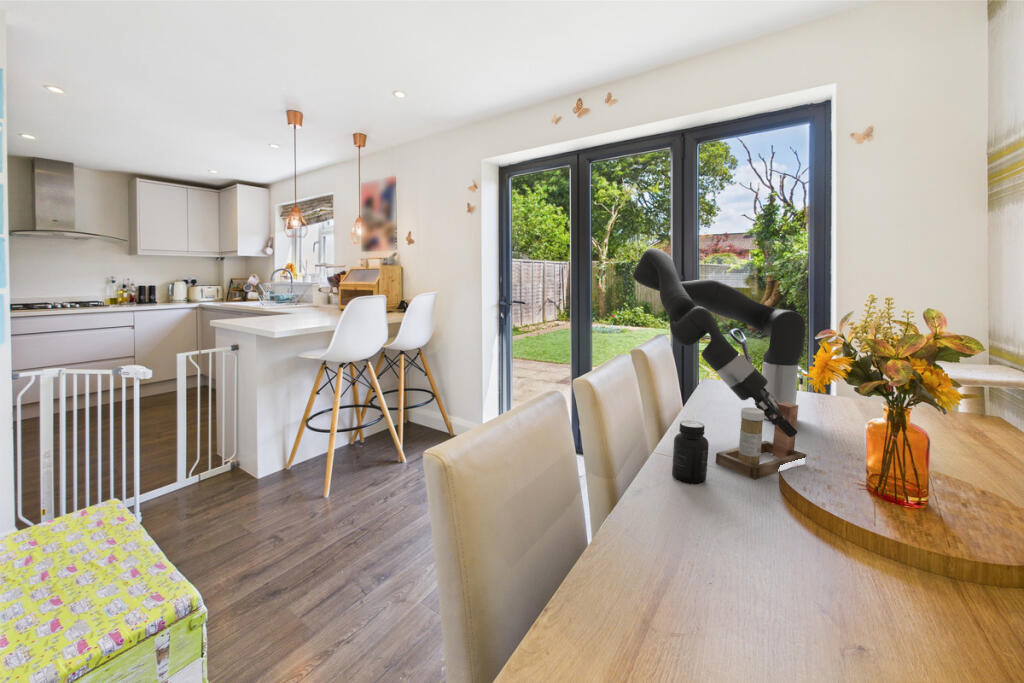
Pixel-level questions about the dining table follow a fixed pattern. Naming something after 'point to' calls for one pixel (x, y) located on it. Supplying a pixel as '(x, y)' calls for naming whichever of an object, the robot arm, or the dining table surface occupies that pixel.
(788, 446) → the wooden frame tray
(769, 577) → the dining table surface
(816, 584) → the dining table surface
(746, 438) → the sprinkles bottle
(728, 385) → the robot arm
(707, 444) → the supplement bottle
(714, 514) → the dining table surface
